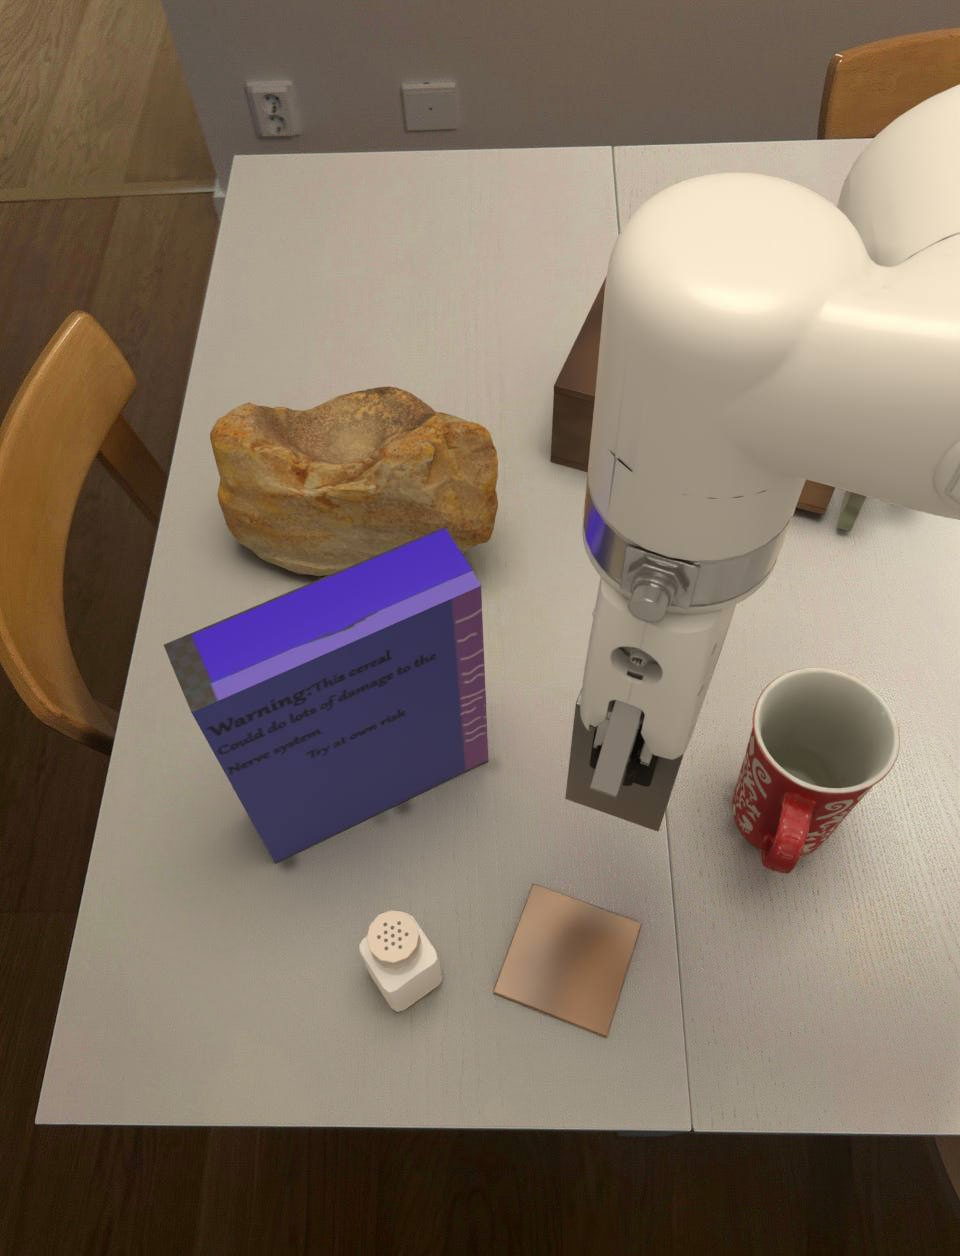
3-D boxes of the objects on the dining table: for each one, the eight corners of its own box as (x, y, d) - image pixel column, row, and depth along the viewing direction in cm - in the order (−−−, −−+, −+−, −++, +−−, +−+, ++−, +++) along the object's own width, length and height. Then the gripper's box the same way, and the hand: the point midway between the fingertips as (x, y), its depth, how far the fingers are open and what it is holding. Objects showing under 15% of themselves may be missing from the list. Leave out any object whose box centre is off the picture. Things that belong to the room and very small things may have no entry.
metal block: (680, 763, 61) (713, 663, 52) (658, 832, 59) (687, 741, 49) (590, 732, 62) (605, 628, 53) (565, 798, 60) (575, 703, 51)
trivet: (641, 924, 74) (641, 922, 74) (606, 1037, 70) (606, 1036, 70) (532, 885, 76) (533, 883, 75) (493, 993, 72) (492, 991, 71)
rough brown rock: (526, 467, 97) (525, 332, 85) (493, 608, 87) (487, 478, 76) (284, 441, 101) (251, 308, 89) (226, 574, 91) (180, 444, 79)
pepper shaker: (365, 968, 73) (347, 928, 65) (414, 934, 74) (402, 890, 66) (397, 1017, 71) (382, 982, 63) (446, 982, 72) (438, 943, 64)
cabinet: (757, 393, 100) (779, 314, 92) (718, 508, 93) (738, 433, 85) (599, 354, 104) (606, 274, 95) (550, 461, 96) (553, 385, 88)
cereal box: (460, 712, 83) (444, 524, 63) (488, 761, 81) (481, 583, 60) (251, 809, 79) (162, 642, 59) (275, 863, 77) (190, 710, 57)
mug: (740, 736, 81) (778, 645, 70) (857, 782, 79) (916, 696, 68) (684, 881, 76) (715, 809, 64) (809, 936, 73) (864, 870, 62)
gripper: (724, 732, 35) (658, 904, 50) (833, 381, 43) (747, 622, 58) (510, 661, 36) (510, 849, 52) (654, 336, 45) (617, 582, 60)
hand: (636, 727), depth 55 cm, fingers closed on metal block, 4 cm apart
